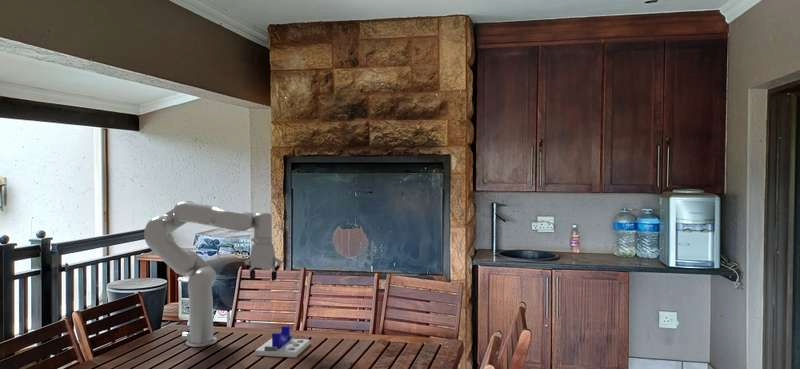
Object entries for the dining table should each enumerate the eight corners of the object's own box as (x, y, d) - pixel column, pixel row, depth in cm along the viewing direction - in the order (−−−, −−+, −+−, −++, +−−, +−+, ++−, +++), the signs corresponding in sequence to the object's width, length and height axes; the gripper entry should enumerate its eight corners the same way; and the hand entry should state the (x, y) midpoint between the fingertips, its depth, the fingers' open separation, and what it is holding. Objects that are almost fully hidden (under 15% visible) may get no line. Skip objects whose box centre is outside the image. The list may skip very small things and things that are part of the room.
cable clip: (279, 339, 230) (279, 325, 230) (289, 340, 229) (289, 326, 229) (268, 348, 218) (268, 333, 218) (279, 349, 218) (279, 334, 217)
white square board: (255, 355, 216) (255, 346, 216) (271, 342, 233) (271, 334, 233) (295, 357, 213) (295, 348, 213) (309, 344, 230) (309, 336, 230)
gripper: (240, 241, 234) (240, 281, 234) (278, 242, 231) (278, 282, 231) (248, 239, 241) (248, 278, 241) (285, 240, 238) (285, 279, 239)
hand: (263, 280), depth 236 cm, fingers open, 9 cm apart
